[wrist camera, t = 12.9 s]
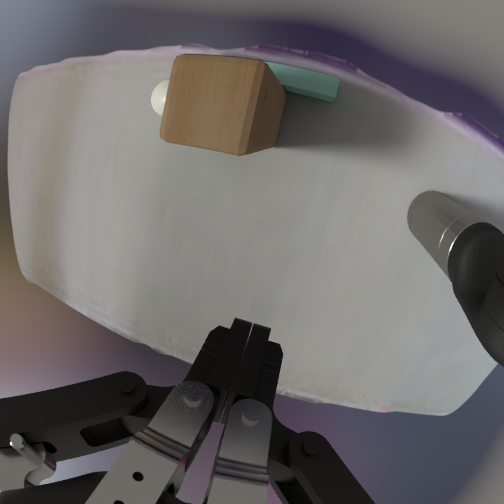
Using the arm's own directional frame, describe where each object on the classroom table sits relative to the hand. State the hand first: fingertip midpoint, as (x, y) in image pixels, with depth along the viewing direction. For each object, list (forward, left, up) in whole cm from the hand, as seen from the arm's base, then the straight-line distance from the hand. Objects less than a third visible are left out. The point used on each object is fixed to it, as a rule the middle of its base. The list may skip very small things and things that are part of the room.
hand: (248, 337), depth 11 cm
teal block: (+10, -16, -37) cm, 42 cm away
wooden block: (+10, -9, -37) cm, 40 cm away
